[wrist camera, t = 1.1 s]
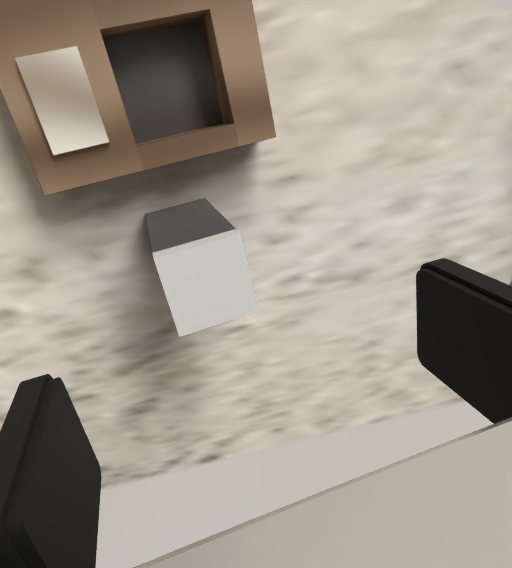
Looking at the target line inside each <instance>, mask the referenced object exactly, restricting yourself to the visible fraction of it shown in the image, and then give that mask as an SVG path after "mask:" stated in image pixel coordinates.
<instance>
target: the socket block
mask: <svg viewBox="0 0 512 568" xmlns="http://www.w3.org/2000/svg"><path fill="white" fill-rule="evenodd" d="M0 89H1V92H2V94H3V96H4V99H5V101H6V104H7V106H8V108H9V111H10V113H11V115H12V118H13V120H14V123H15V125H16V127H17V130H18V132H19V134H20V137H21V139H22V142H23V144H24V146H25V149H26V151H27V154H28V156H29V158H30V161H31V163H32V165H33V168H34V170H35V173H36V175H37V177H38V180H39V182H40V185H41V187H42V189H43V192H44V194H45V195H48V194H52V193H56V192H60V191H64V190H68V189H72V188H76V187H80V186H84V185H88V184H92V183H96V182H100V181H104V180H108V179H112V178H116V177H120V176H124V175H128V174H132V173H136V172H139V171H143V170H147V169H151V168H155V167H159V166H163V165H167V164H171V163H175V162H179V161H183V160H187V159H191V158H195V157H199V156H203V155H207V154H211V153H215V152H219V151H223V150H227V149H231V148H235V147H239V146H243V145H247V144H251V143H255V142H259V141H263V140H267V139H271V138H275V137H276V133H275V128H274V122H273V117H272V111H271V105H270V100H269V94H268V89H267V83H266V78H265V72H264V66H263V61H262V55H261V50H260V44H259V39H258V33H257V27H256V22H255V16H254V11H253V5H252V0H0Z"/></svg>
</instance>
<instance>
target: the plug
mask: <svg viewBox="0 0 512 568" xmlns="http://www.w3.org/2000/svg"><path fill="white" fill-rule="evenodd" d="M145 216H146V221H147V226H148V232H149V237H150V243H151V248H152V253H153V259H154V262H155V265H156V268H157V271H158V274H159V277H160V280H161V283H162V286H163V289H164V292H165V295H166V298H167V301H168V304H169V307H170V310H171V313H172V316H173V319H174V322H175V325H176V328H177V331H178V334H179V337H181V336H184V335H187V334H190V333H193V332H196V331H199V330H202V329H205V328H209V327H212V326H215V325H218V324H221V323H224V322H227V321H230V320H233V319H236V318H239V317H242V316H245V315H248V314H251V313H254V312H257V311H259V308H258V304H257V300H256V296H255V291H254V287H253V283H252V278H251V274H250V270H249V266H248V261H247V257H246V253H245V248H244V244H243V240H242V236H241V233H240V232H239V231H238V230H237V229H236V228H235V227H233V226H232V225H231V224H230V223H229V222H228V221H227V220H226V219H225V218H224V217H223V216H222V215H221V214H220V213H219V212H218V211H217V210H216V209H215V208H214V207H213V206H212V205H211V204H210V203H209V202H208V201H207V200H206V199H205V198H203V199H199V200H196V201H192V202H188V203H185V204H181V205H177V206H174V207H170V208H166V209H162V210H159V211H155V212H151V213H148V214H145Z"/></svg>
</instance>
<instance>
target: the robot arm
mask: <svg viewBox="0 0 512 568" xmlns="http://www.w3.org/2000/svg"><path fill="white" fill-rule="evenodd" d="M416 298H417V354H418V358H419V360H420V362H421V364H422V365H423V366H424V367H425V368H426V369H427V370H429V371H430V372H431V373H432V374H434V375H435V376H436V377H437V378H438V379H440V380H441V381H442V382H443V383H445V384H446V385H447V386H448V387H449V388H451V389H452V390H453V391H454V392H456V393H457V394H458V395H459V396H460V397H462V398H463V399H464V400H465V401H467V402H468V403H469V404H470V405H472V406H473V407H474V408H475V409H476V410H478V411H479V412H480V413H481V414H483V415H484V416H485V417H486V418H487V419H489V420H490V421H491V422H492V423H494V424H493V425H490V426H488V427H485V428H483V429H480V430H478V431H475V432H472V433H470V434H467V435H464V436H462V437H459V438H457V439H454V440H452V441H449V442H446V443H444V444H442V445H439V446H436V447H434V448H431V449H429V450H426V451H424V452H421V453H418V454H416V455H413V456H411V457H408V458H406V459H403V460H401V461H398V462H396V463H393V464H390V465H388V466H385V467H383V468H380V469H378V470H375V471H373V472H370V473H368V474H365V475H363V476H360V477H358V478H355V479H352V480H350V481H347V482H345V483H343V484H340V485H337V486H335V487H332V488H330V489H327V490H325V491H322V492H320V493H317V494H315V495H312V496H310V497H307V498H305V499H302V500H300V501H297V502H295V503H292V504H290V505H287V506H285V507H282V508H280V509H277V510H275V511H272V512H270V513H267V514H265V515H262V516H260V517H257V518H255V519H252V520H250V521H247V522H245V523H242V524H240V525H237V526H235V527H232V528H230V529H227V530H225V531H222V532H220V533H218V534H215V535H212V536H210V537H207V538H205V539H203V540H200V541H198V542H195V543H192V544H190V545H188V546H185V547H183V548H180V549H178V550H175V551H173V552H170V553H168V554H166V555H163V556H161V557H158V558H156V559H154V560H151V561H149V562H146V563H144V564H141V565H139V566H136V567H134V568H512V286H510V285H507V284H505V283H503V282H500V281H498V280H496V279H493V278H491V277H488V276H486V275H484V274H481V273H479V272H477V271H474V270H472V269H470V268H467V267H465V266H462V265H460V264H458V263H455V262H453V261H451V260H448V259H445V258H442V259H438V260H435V261H431V262H428V263H425V264H423V265H422V266H421V268H420V270H419V271H418V272H417V274H416ZM100 490H101V470H100V466H99V463H98V460H97V458H96V456H95V453H94V451H93V449H92V447H91V444H90V442H89V440H88V438H87V435H86V433H85V431H84V428H83V426H82V424H81V422H80V419H79V417H78V415H77V413H76V410H75V408H74V406H73V403H72V401H71V399H70V397H69V394H68V392H67V390H66V388H65V385H64V383H63V381H62V379H61V378H59V377H58V378H55V379H53V378H52V377H51V376H50V375H49V374H46V375H43V376H39V377H36V378H32V379H29V380H26V381H22V382H21V383H20V384H19V387H18V389H17V392H16V394H15V397H14V399H13V402H12V404H11V406H10V409H9V411H8V414H7V416H6V419H5V421H4V424H3V426H2V429H1V431H0V568H95V564H96V550H97V534H98V520H99V505H100Z"/></svg>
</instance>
